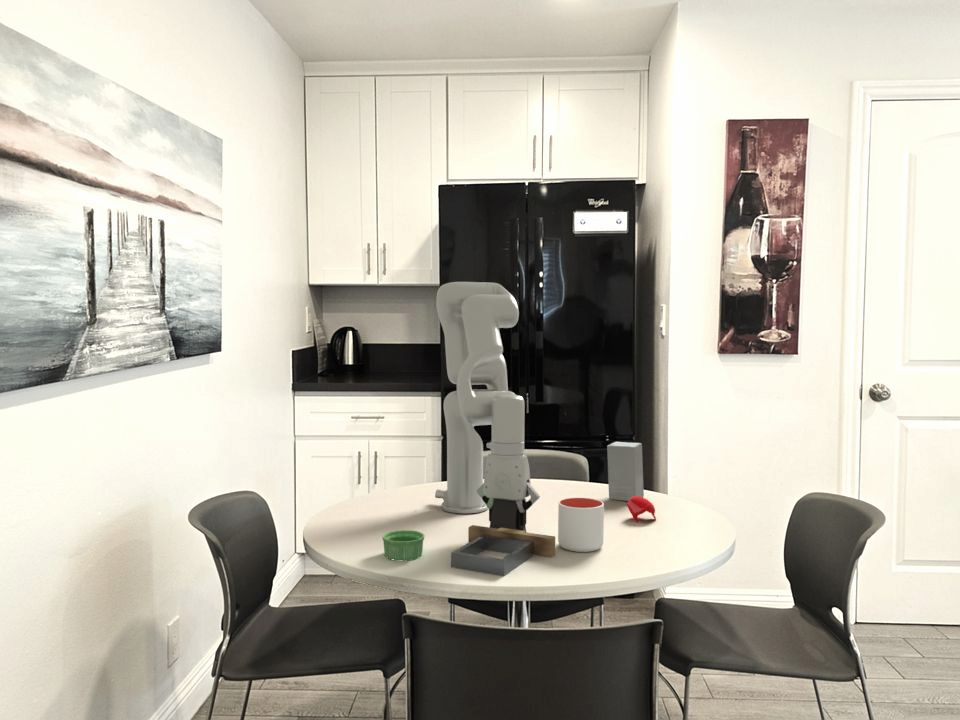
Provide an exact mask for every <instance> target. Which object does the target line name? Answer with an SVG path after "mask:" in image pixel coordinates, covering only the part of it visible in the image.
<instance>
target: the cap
mask: <svg viewBox="0 0 960 720" xmlns="http://www.w3.org/2000/svg"><path fill="white" fill-rule="evenodd" d="M626 506H627V509H628V511H629V512H630V515H631V516H632V518H633V519H634V521H635V522H636V523H639V522H640V519H639V518H638V517H639V516H640V515H643V514H644V513H646V512H648V513H649V514H651V516H652V517H653V518H654V521H657V517H656V515H655V513H656V508H655V506H654V504H653V503H652V502H651V501H650V500H648V499H647V498H645V497H644V496H643V497H639V496H635V497H632V498H630V499H629V501H627V503H626Z"/></svg>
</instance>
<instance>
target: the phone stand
mask: <svg viewBox="0 0 960 720" xmlns="http://www.w3.org/2000/svg"><path fill="white" fill-rule="evenodd" d="M517 512H519V509H518V506H517V503H516V501H511V500H502V499H494V498H493V507H492V514H491V521H489V527H490V528H497V529H499V528H508V529H515V530H518V529H517ZM521 530H522V531H525V532H527V528H526V525H525V527H524V528H522V529H521Z"/></svg>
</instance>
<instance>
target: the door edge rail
mask: <svg viewBox="0 0 960 720" xmlns="http://www.w3.org/2000/svg"><path fill="white" fill-rule="evenodd" d="M467 530H468V534H467V535H468V540H467V541H468V543H469V542H471V541H473V540H475V539H476V538H478V537H480V536H482V535H483V534H484V535H491V536H498V537H505V538H512V539H519V540H526V541H533V542H534V554H533V556H541V557H549V558H553V557H554V556H555V555H556V536H555V535H554V536H553V535H547V534H542V533H541V534H538V533H534V532H533V533H532V532H527V531H526V532H525V531H522V530H515V529H508V528H499V529H497V528H490V526H481V525H474V524H472V525H470V526H468V529H467Z"/></svg>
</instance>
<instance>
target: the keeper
mask: <svg viewBox="0 0 960 720" xmlns="http://www.w3.org/2000/svg"><path fill="white" fill-rule="evenodd" d="M487 550H488V551H493V552H500V553H506V554H507V555H505V556H504V557H503V558H497V557H491V556H485V555H479V554H480V552H481V553H482V552H483V551H487ZM533 554H534V542H533V541H526V540H519V539H512V538H505V537H498V536H491V535H484V534H483V535H482V536H480V537H478V538H476V539H475V540H473V541H471V542H469V543H465V544H464V545H462V546H461V547H459V548H457V549H454V551H452V552H450V568H453V567H454V569H461V570H467V571H471V572H472V571H473V572H479V573H485V574H490V575H496V576H503V577H504V576H506V575H508V574H509V573H511V572H513V570H515V569H516V568H518V567H519V566H520V565H523V563H525V562H526V561H528V560H529V559H530V558H532V557H533V556H534V555H533Z"/></svg>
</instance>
